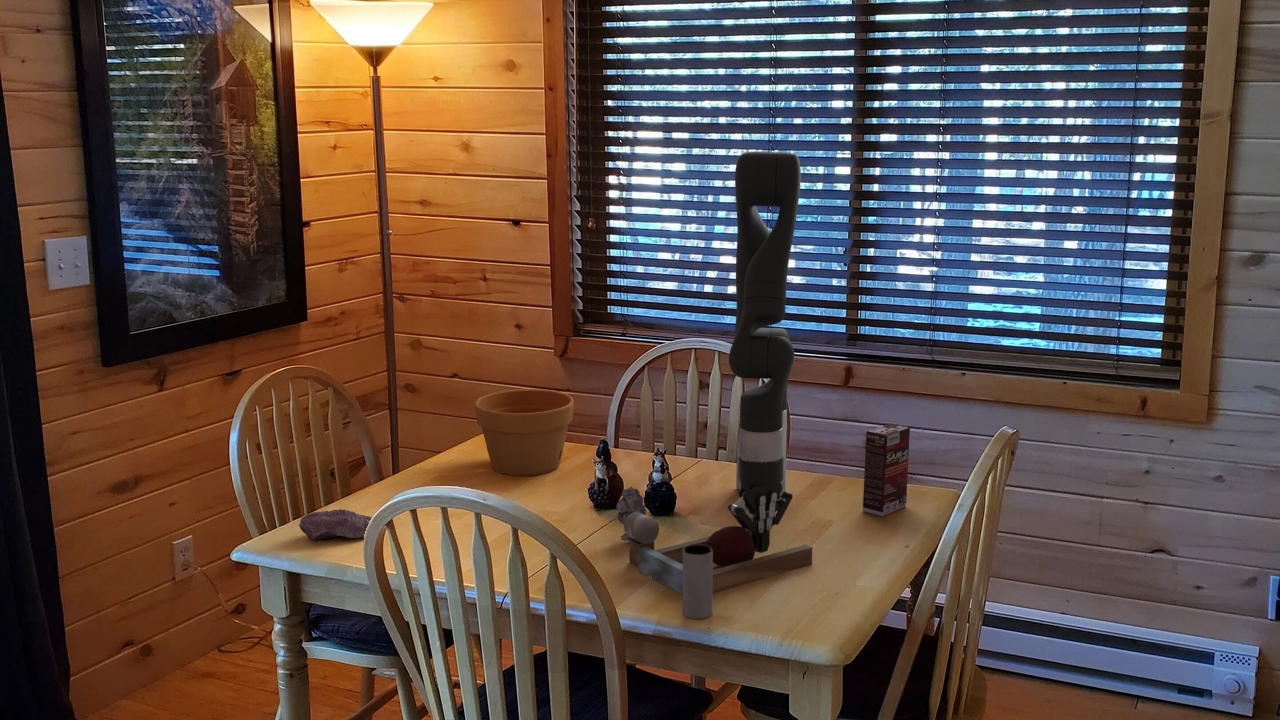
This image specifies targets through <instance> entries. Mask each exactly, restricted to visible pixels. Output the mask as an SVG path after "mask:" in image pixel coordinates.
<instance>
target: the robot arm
mask: <svg viewBox="0 0 1280 720" xmlns="http://www.w3.org/2000/svg"><path fill="white" fill-rule="evenodd" d="M801 170H802V168H801V163H800V159H799V156H798V155H797V154H795V153H792V152H786V151H785V152H782V151H776V152H775V151H746V152H743V153H741V154H740V155H739V157H738V158H737V161H736V165H735V170H734V171H735V173H734V190H735V207H736V223H737V226H736V227H737V233H736V234H737V239H736V258H735V294H736V311H735V312H736V315H735V328H734V338H733V341H732V344H731V347H730V349H729V354H728V365H729V369H730V370H731V372H732V373H733V374H734V376H736V377H737V378H739V379H740V378H741V379H742V378H743V379H763V380H764V379H765V380H766V379H767V381H766V382H764V383H763V384H761V385H759V386H757V387H754V388H751V389H748V390H745V391H743V393H742V394H741V395H740V399H739V400H740V401H739V411H740V412H739V413H740V415H739V417H740V418H739V420H740V421H739V435H738V441H737V443H736V470H735V471H736V481H735V482H736V483H735V485H736V486H735V487H736V489H738V490H739V491H738V497H739V498H738V499H737V500H736V501H735V503H730V504H728V506H727V510H728V511H729V513H731V515H732V516H733V518H734V519H735V520H736V521H737V522H738V524H739V526H740V527H743V528H745V529H748V530H750V531H752V539H753V543H754V546H755V553H759V554H761V553H766V552H768V551H769V548H770V545H771V544H770V543H771V540H770V537H771V535H770V534H771V530H772V528H773V526H778V525H779V524H780V522H781V520H782V519H783V516H784V515H785V513H786V511H787V509H788V507H789V505H790V504H791V503H792V500H793V498H794V497H793V493H790V492H787V491H786V476H787V475H786V472H787V425H788V424H787V421H788V420H787V419H788V380H789V377H790V374H791V371H792V367H793V365H794V362H795V349H794V347H793V344H792V342H791V341H790V337H789V334H788V332H787V330H786V329H785V328H783V327H782V328H781V327H780V328H779V327H769V326H773V325H777V324H780V323H782V321H783V320H784V319H785V315H786V305H787V303H786V302H787V285H788V273H789V272H788V271H789V263H790V257H791V251H792V246H793V240H794V234H795V228H796V221H797V216H798V215H797V214H798V210H799V209H798V207H799V199H800V194H801V193H800V191H801V177H802V171H801ZM757 207H771V208H772V207H775V208H779V211H778V215H777V218H776V221H775V224H774V225H773V228H772V229H771V230H770V229H769V227H767V225H766V224H765V222H764V221H763V219H762V217H761V216H760V213H759V210H758V208H757ZM768 379H769V380H768Z"/></svg>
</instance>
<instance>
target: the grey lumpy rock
mask: <svg viewBox="0 0 1280 720" xmlns="http://www.w3.org/2000/svg"><path fill="white" fill-rule="evenodd" d="M621 497H622V498H621V499H620V500H619V501H618V502H617V503H616V505H615V506H616V510H617V511H618V513H617V520H618V522H619V523H621V524H622V525H624V523H625V521H626V519H627V517H628V516H629V515H630V514H632V513H634V512H639V513H642V514H644V515H646V514H647V509H646V506H645V505H644V499H643V497H642V495H641V492H640V491H639V489H637V488H633V487H632V486H629V487H628V488H625V489H623V490H622V492H621ZM620 539H621V541H626V542H629V540H630V539H633V538H631V537H629V536H627V535H626V533H625V532H624V533H623V534H622V535H621V536H620Z"/></svg>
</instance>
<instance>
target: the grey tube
mask: <svg viewBox="0 0 1280 720" xmlns="http://www.w3.org/2000/svg"><path fill="white" fill-rule="evenodd" d="M682 565H683V595H682V608H681V609H682V615H683V616H684V617H686V618H689V619H692V620H704V619H708V618H710V617H711V616H712V615H713V570H714V567H713V565H714V563H713V549H712V548H711V547H710V546H707V545H703V544H692V545H688V546H685V547H684V548H683V564H682Z"/></svg>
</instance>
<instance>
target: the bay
mask: <svg viewBox="0 0 1280 720" xmlns="http://www.w3.org/2000/svg"><path fill="white" fill-rule="evenodd" d="M744 529H745V528H744ZM623 530H624V534H625V533H626V535H627V536H629V537H631V538H633V539H630V540H629V541H628V544H629V545H628V546H629V547H628V549H629V551H628V552H629V553H628V554H629V556H628V557H629V561H630V562H631V563H630V562H629V561H628V562H629V563H630V564H632V563H633V564H632V565H634V564H635V565H634V566H636V565H637V566H636V567H638V566H639V567H638V572H639V571H640V572H639V573H641V572H642V573H641V574H643V573H644V574H646V575H648V576H650V577H652V578H653V579H652V578H651V579H652V580H654V579H655V580H654V581H656V580H657V581H659V582H661V583H663V584H664V586H665V585H666V586H665V587H667V586H668V587H667V588H669V587H670V588H669V589H671V590H672V589H673V591H674V590H675V592H676V591H677V592H676V593H678V592H679V593H678V594H680V593H681V594H680V595H682V594H683V548H684V547H685V546H688V545H692V544H703V545H706V543H707V540H708V538H709V537H710V536H711V535H710V536H706V537H701V538H698V539H694V540H690V541H686V542H682V543H678V544H674V545H670V546H666V547H662V548H658V549H655V540H656V539H657V537H658V535H659V534H660V526H659V523H658V521H657V520H656V519H654V518H653V517H650V516H648V515H646V514H645V515H644V514H642V513H639V512H634V513H632V514H630V515H629V516H628V517H627V519H626V521H625V523H624V524H623ZM746 530H748V529H746ZM748 532H749V533H750V535H751V536H752V531H750V530H748ZM812 564H813V546H810V545H808V544H803V545H799V546H795V547H791V548H788V549H785V550H782V551H777V552H774V553H770V554H767V555H763V556H760V557H756V558H753V559H752V560H748V561H744V562H741V563H737V564H733V565H730V566H726V567H718V568H716V569H713V593H717V592H720V591H724V590H727V589H730V588H734V587H738V586H741V585H744V584H748V583H751V582H752V583H753V582H755V581H759V580H763V579H766V578H769V577H772V576H776V575H780V574H783V573H786V572H789V571H793V570H794V571H795V570H797V569H801V568H803V567H807V566H810V565H812ZM644 574H643V575H644ZM646 575H645V576H646ZM648 576H647V577H648ZM650 577H649V578H650ZM657 581H656V582H657ZM659 582H658V583H659ZM661 583H660V584H661ZM663 584H662V585H663Z"/></svg>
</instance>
